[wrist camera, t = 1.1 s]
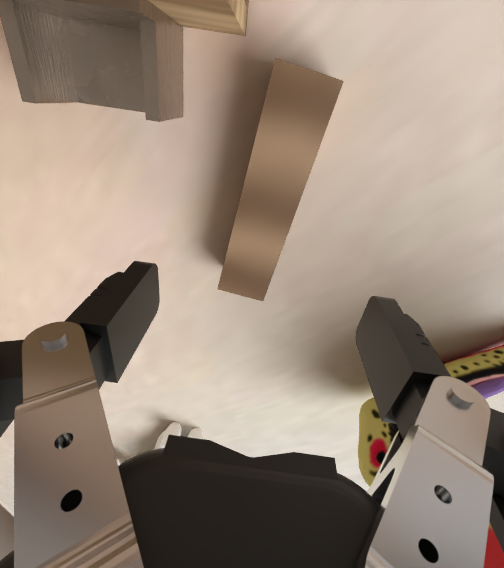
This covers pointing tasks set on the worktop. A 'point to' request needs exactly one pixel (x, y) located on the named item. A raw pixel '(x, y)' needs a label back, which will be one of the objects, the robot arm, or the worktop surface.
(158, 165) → the worktop surface
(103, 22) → the bracket
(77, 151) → the worktop surface
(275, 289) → the worktop surface
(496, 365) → the toy
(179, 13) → the wooden angled panel
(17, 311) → the worktop surface
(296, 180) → the rail
